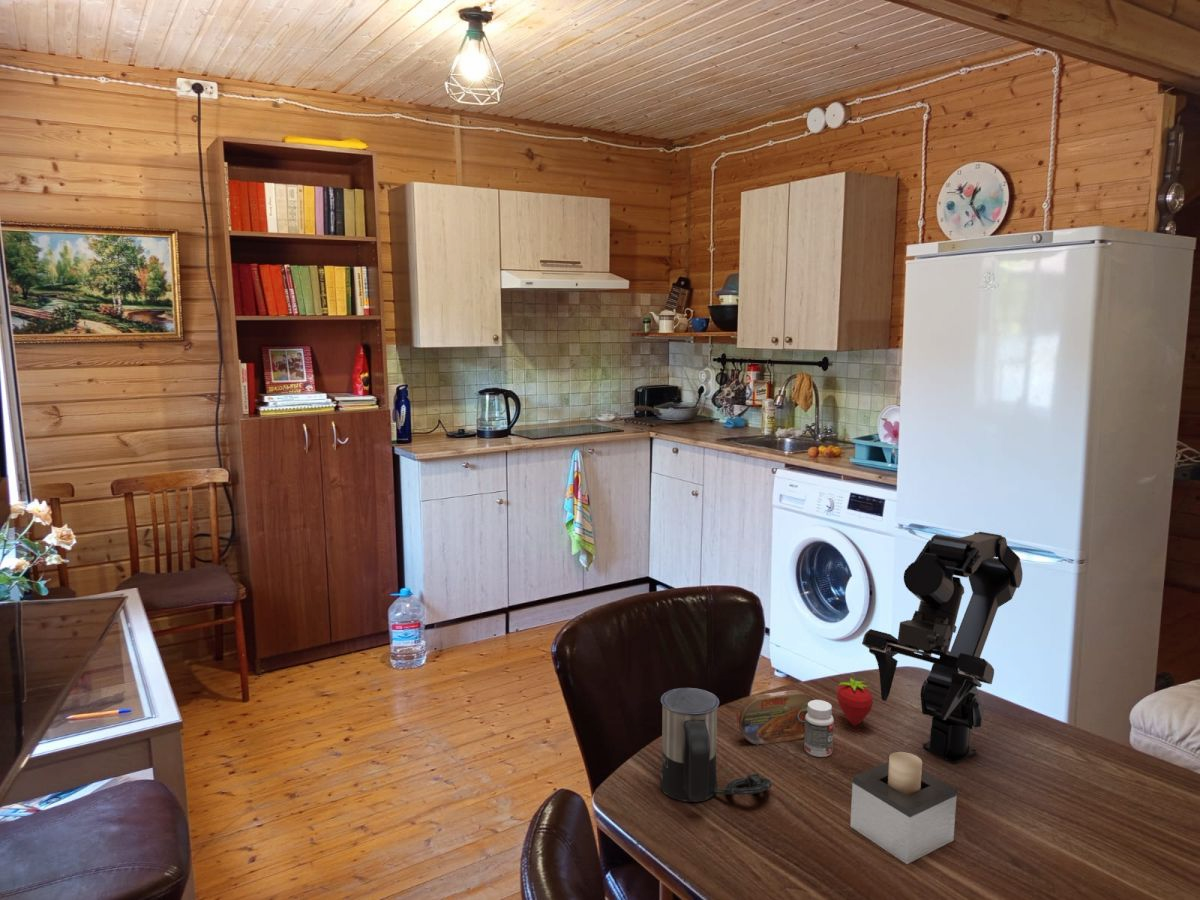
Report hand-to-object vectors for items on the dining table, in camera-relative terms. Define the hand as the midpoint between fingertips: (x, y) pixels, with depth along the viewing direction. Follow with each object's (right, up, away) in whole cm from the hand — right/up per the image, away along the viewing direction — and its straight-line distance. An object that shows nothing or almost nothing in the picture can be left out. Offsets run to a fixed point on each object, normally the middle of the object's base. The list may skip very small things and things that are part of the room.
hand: (912, 709), depth 128 cm
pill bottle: (-10, -12, +16) cm, 23 cm away
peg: (-4, -12, -8) cm, 15 cm away
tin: (-17, -11, +20) cm, 28 cm away
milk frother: (-30, -14, +4) cm, 33 cm away
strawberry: (-2, -11, +24) cm, 27 cm away
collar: (-4, -16, -7) cm, 18 cm away
